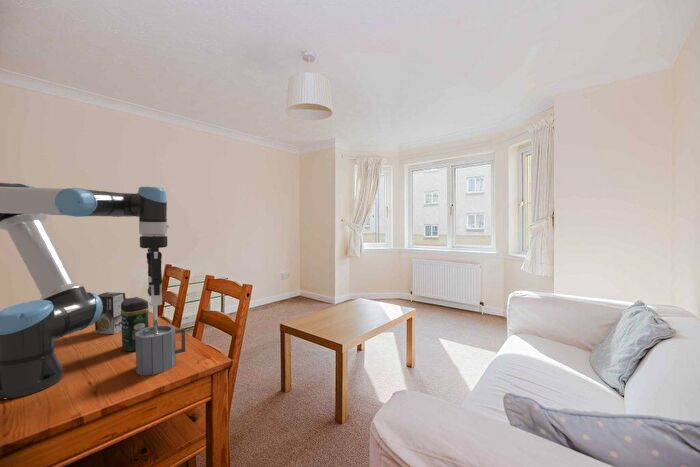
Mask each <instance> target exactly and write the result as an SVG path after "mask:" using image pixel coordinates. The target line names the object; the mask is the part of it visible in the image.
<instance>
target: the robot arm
mask: <svg viewBox="0 0 700 467" xmlns="http://www.w3.org/2000/svg"><path fill="white" fill-rule="evenodd" d="M137 190H138V191H137V192H136V193H129V192H128V193H127V192H113V191H104V190H96V189H95V190H93V189H86V188H85V189H84V188H80V187H78V188H77V187H67V188H59V187H58V188H54V187H53V188H51V187H36V186H33V185H26V184H24V183H23V184H22V183H7V182H0V230H4V231H7V233H8V235H9V237H10V239H11V241H12V242H13V244H14V246H15V248H16V250H17V251H18V252H17V253H18V254H19V256H20V257H21V259H22V261H23V263H24V266H25V267H26V269H27V270H28V272H29V274H30V276H31V278H32V280H33V281H34V283H35V285H36V288H37V289H38V291H39V293H40V295H41V297H40V298H39V299H38V300H30V301H27V302H21V303H17V304H14V305H11V306H7V307H5V308H4V309H1V310H0V399H4V398H12V399H15V398H21V397H25V396H29V395H31V394H34V393H38V392H40V391H43V390H45V389H48V388H50V387H51V386H54V385H55V384H57V383H58V382H60V381H61V380H62V378H63V377H64V367H63V365H62V363H61V362H60V360H59V358H58V356H57V354H56V353H55V340H58V339H61V338H62V337H65V336H68V335H70V334H73V333H75V332H78V331H83V330H84V329H86V328H88V327H91V326H93V325H95V322H97V320H98V319H99V318H100V316H101V313H102V309H103V306H102V301H101V299H100V298H99V296H98V295H99V294H96V293H94V292H90V291H87V290H86V289H85V287H84V285H81V284H78V283H76V281H75V280H74V279H73V277H72V275H71V272H70V271H69V269H68V266H67V265H66V263H65V260H64V259H63V258H62V256H61V254H60V252H59V250H58V248H57V246H56V245H55V242H54V240H53V239H52V236H51V235H50V233H49V231H48V230H47V228H46V227H47V226H46V225H45V223H44V222H45V220H46V219H47V215H49V216H68V217H78V218H79V217H82V218H83V217H111V218H112V217H114V218H115V217H117V218H120V217H124V218H125V217H127V218H128V217H132V218H133V217H136V218H138V229H139V230H138V234H139V235H140V236H139V248H141V249H147V253H146V261H147V262H146V263H147V276H148V277H147V278H148V281H147V282H148V285H147V286H148V287H147V289H148V288H149V286H151V296H150V295H149V294H148V297H151V300H150V301H151V302H150V303H151V304H150V305H151V307H153V306H156V305H157V306H162V305H163V286H162V284H163V277H162V276H163V275H162V259H163V255H162V254H163V253H162V252H161V251H160V249H163V248H167V247H168V236H167V234H168V229H169V228H170V225H169V224H168V219H167V217H168V216H167V213H168V212H167V211H168V210H167V209H168V200H167V191H166V189H165V188H163V187H156V186H140V187H138V189H137Z"/></svg>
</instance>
